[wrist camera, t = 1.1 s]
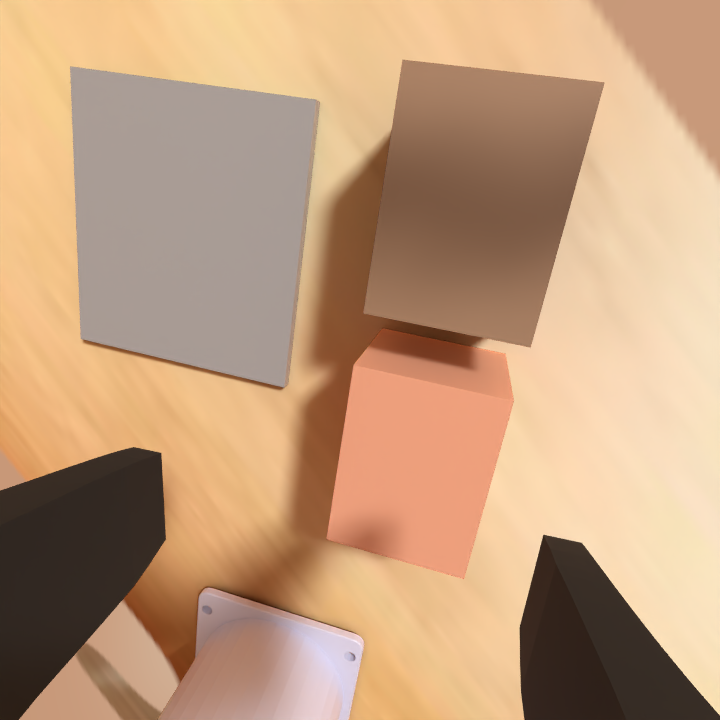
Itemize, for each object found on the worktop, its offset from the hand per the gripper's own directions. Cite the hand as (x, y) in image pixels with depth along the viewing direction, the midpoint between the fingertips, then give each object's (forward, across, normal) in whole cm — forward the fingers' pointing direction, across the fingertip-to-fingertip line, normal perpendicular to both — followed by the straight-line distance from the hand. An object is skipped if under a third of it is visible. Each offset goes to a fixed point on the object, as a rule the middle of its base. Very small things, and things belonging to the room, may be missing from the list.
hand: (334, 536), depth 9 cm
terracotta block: (+10, -1, +2) cm, 10 cm away
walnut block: (+10, -1, -6) cm, 11 cm away
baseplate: (+10, +9, -4) cm, 14 cm away
